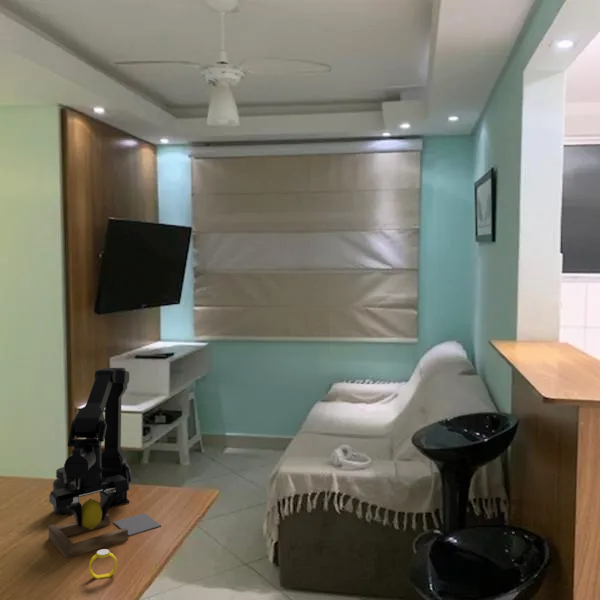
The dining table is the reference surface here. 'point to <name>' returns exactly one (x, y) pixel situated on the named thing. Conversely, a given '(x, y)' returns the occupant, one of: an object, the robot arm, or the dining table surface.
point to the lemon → (91, 514)
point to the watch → (102, 554)
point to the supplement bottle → (60, 484)
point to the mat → (137, 524)
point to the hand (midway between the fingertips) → (91, 523)
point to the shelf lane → (72, 549)
